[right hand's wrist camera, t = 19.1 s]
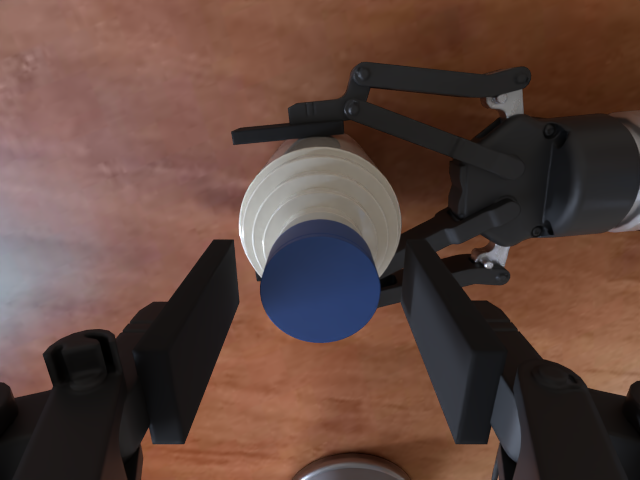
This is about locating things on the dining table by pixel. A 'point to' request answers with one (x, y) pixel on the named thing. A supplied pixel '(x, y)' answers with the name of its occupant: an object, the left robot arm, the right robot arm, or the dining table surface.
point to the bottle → (320, 197)
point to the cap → (320, 282)
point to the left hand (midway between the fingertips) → (249, 206)
